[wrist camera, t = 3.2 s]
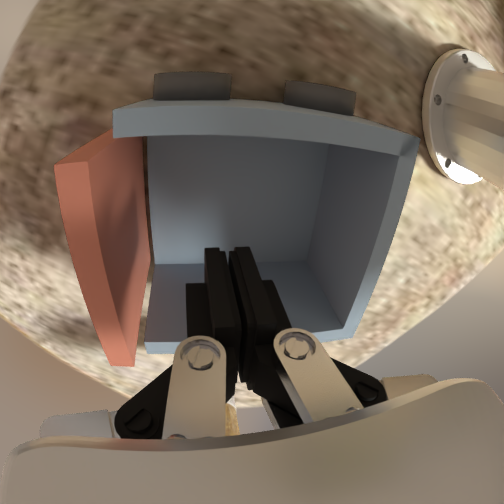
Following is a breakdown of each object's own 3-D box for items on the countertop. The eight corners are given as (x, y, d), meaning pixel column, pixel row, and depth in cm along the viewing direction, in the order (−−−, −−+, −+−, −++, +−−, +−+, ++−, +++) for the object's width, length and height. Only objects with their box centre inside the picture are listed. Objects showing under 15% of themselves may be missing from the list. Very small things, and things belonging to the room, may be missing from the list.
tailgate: (142, 121, 14) (87, 161, 7) (150, 259, 19) (134, 366, 12) (123, 122, 14) (53, 165, 7) (134, 259, 19) (110, 365, 12)
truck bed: (343, 92, 16) (426, 108, 9) (308, 277, 24) (345, 351, 17) (151, 76, 14) (113, 70, 7) (159, 282, 21) (151, 368, 15)
